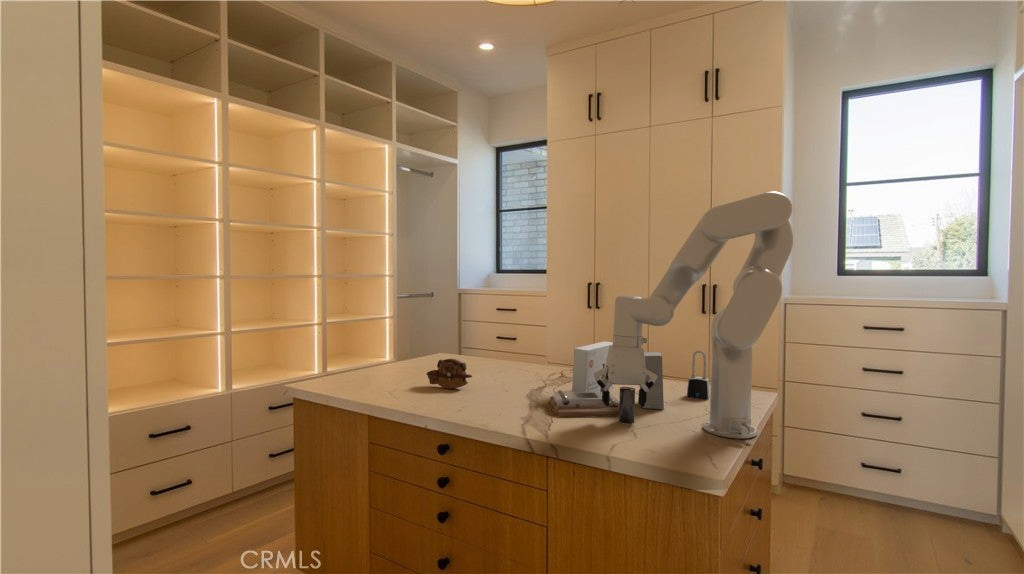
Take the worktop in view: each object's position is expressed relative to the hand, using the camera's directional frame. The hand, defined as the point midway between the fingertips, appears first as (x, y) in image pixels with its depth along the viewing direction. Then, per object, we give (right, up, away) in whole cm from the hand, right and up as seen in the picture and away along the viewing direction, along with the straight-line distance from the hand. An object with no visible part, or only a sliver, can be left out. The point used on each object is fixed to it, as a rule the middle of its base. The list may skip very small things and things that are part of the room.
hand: (623, 404), depth 136 cm
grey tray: (-8, -3, +12) cm, 15 cm away
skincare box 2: (+11, -4, +16) cm, 20 cm away
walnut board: (-8, -4, +12) cm, 15 cm away
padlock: (+30, -4, +26) cm, 40 cm away
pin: (+1, -5, 0) cm, 5 cm away
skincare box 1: (-3, -3, +31) cm, 31 cm away
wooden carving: (-51, -3, +35) cm, 62 cm away
